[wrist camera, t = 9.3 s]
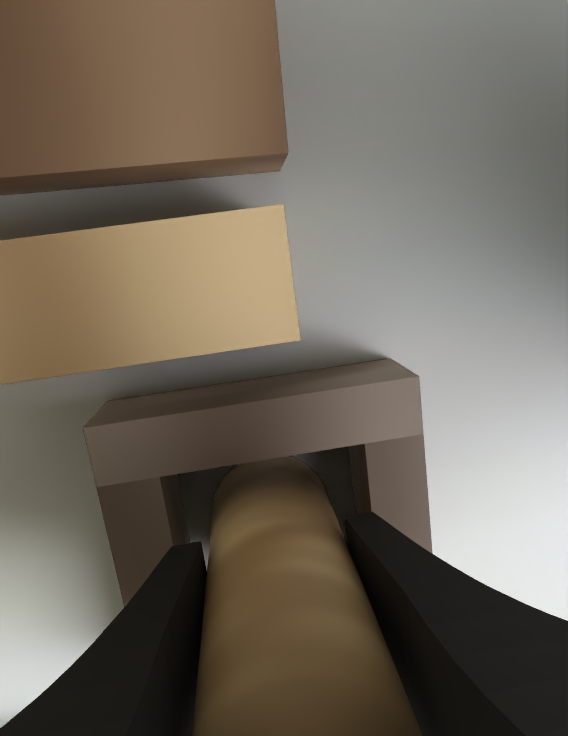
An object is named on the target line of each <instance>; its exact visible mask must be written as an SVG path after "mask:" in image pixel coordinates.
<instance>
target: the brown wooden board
mask: <svg viewBox="0 0 568 736" xmlns="http://www.w3.org/2000/svg"><path fill="white" fill-rule="evenodd" d="M287 155H288V144H287V133H286V122H285V111H284V99H283V88H282V77H281V66H280V55H279V44H278V33H277V21H276V10H275V0H0V196H3V195H14V194H25V193H37V192H48V191H59V190H71V189H82V188H93V187H105V186H116V185H128V184H139V183H150V182H162V181H173V180H184V179H196V178H207V177H218V176H230V175H241V174H252V173H264V172H275V171H280V169H281V167H282V165H283V163H284V161H285V159H286V157H287Z"/></svg>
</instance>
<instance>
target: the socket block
mask: <svg viewBox="0 0 568 736" xmlns="http://www.w3.org/2000/svg"><path fill="white" fill-rule="evenodd" d="M83 431H84V435H85V440H86V444H87V448H88V453H89V457H90V461H91V465H92V470H93V474H94V478H95V483H96V487H97V491H98V496H99V500H100V504H101V508H102V513H103V517H104V521H105V526H106V530H107V534H108V538H109V543H110V547H111V551H112V556H113V560H114V564H115V569H116V573H117V577H118V581H119V586H120V590H121V594H122V599H123V603H124V607H125V606H126V605H127V603H128V602H129V601H130V600H131V598H132V597H133V596H134V595H135V593H136V592H137V591H138V590H139V588H140V587H141V586H142V584H143V583H144V582H145V580H146V579H147V578H148V576H149V575H150V574H151V572H152V571H153V570H154V569H155V567H156V566H157V565H158V563H159V562H160V561H161V559H162V558H163V557H164V555H165V554H166V553H167V552H168V550H169V549H170V548H171V547H172V546H176V545H182V544H188V543H190V538H189V533H188V527H187V522H186V517H185V512H184V507H183V502H182V496H181V491H180V486H179V481H178V476H177V474H181V473H187V472H193V471H199V470H205V469H212V468H218V467H224V466H230V465H236V464H242V463H248V462H255V461H261V460H267V459H273V458H279V457H285V456H292V455H298V454H304V453H310V452H316V451H322V450H329V449H335V448H341V447H347V446H348V448H349V457H350V466H351V475H352V484H353V493H354V502H355V511H356V514H362V513H368V512H374V513H375V514H377V515H378V516H379V517H381V518H382V519H384V520H385V521H386V522H388V523H389V524H390V525H392V526H393V527H394V528H396V529H397V530H399V531H400V532H401V533H403V534H404V535H406V536H407V537H408V538H410V539H411V540H413V541H414V542H415V543H417V544H418V545H420V546H421V547H423V548H424V549H426V550H427V551H429V552H430V553H432V542H431V529H430V515H429V502H428V489H427V476H426V462H425V449H424V436H423V422H422V409H421V396H420V383H419V376H418V375H416V374H415V373H413V372H411V371H410V370H408V369H407V368H405V367H403V366H402V365H400V364H399V363H397V362H395V361H394V360H392V359H391V358H390V359H383V360H376V361H370V362H363V363H357V364H350V365H343V366H337V367H330V368H324V369H317V370H310V371H304V372H297V373H291V374H284V375H277V376H271V377H264V378H258V379H251V380H244V381H238V382H231V383H225V384H218V385H211V386H205V387H198V388H192V389H185V390H178V391H172V392H165V393H159V394H152V395H145V396H139V397H132V398H126V399H119V400H113V401H107V402H106V403H105V404H104V406H103V407H102V408H101V409H100V410H99V411H98V412H97V413H96V414H95V415H94V417H93V418H92V419H91V420H90V421H89V422H88V423H87V424H86V425H85V426H84V427H83Z"/></svg>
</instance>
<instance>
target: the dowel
mask: <svg viewBox="0 0 568 736" xmlns="http://www.w3.org/2000/svg"><path fill="white" fill-rule="evenodd" d="M192 736H422V733H421V730H420V728H419V725H418V722H417V720H416V717H415V715H414V712H413V710H412V707H411V705H410V702H409V700H408V697H407V695H406V692H405V690H404V687H403V685H402V682H401V680H400V677H399V675H398V672H397V669H396V667H395V664H394V662H393V659H392V657H391V654H390V652H389V649H388V647H387V644H386V642H385V639H384V637H383V634H382V632H381V629H380V627H379V624H378V621H377V619H376V616H375V614H374V611H373V609H372V606H371V604H370V601H369V599H368V596H367V594H366V591H365V589H364V586H363V584H362V581H361V579H360V576H359V573H358V571H357V568H356V566H355V563H354V561H353V558H352V556H351V553H350V551H349V548H348V546H347V543H346V541H345V538H344V536H343V533H342V531H341V528H340V526H339V523H338V520H337V518H336V515H335V513H334V510H333V508H332V505H331V503H330V500H329V498H328V495H327V493H326V490H325V488H324V485H323V483H322V481H321V480H320V478H319V477H318V475H317V474H316V473H315V472H314V471H313V470H312V469H311V468H310V467H309V466H307V465H306V464H305V463H303V462H301V461H300V460H297V459H295V458H292V457H289V456H285V457H279V458H273V459H267V460H261V461H255V462H248V463H242V464H239V465H237V466H236V467H234V468H233V469H232V470H231V471H230V472H229V473H228V474H227V475H226V476H225V477H224V479H223V480H222V482H221V483H220V485H219V487H218V489H217V491H216V494H215V497H214V502H213V512H212V523H211V534H210V545H209V556H208V567H207V578H206V589H205V600H204V612H203V623H202V634H201V645H200V656H199V667H198V678H197V689H196V700H195V712H194V723H193V734H192Z"/></svg>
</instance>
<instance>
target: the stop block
mask: <svg viewBox="0 0 568 736" xmlns="http://www.w3.org/2000/svg"><path fill="white" fill-rule="evenodd" d="M300 340H301V339H300V331H299V323H298V315H297V307H296V299H295V292H294V284H293V276H292V268H291V260H290V252H289V244H288V236H287V228H286V221H285V213H284V205H283V204H279V205H271V206H263V207H256V208H248V209H240V210H232V211H225V212H217V213H209V214H201V215H194V216H186V217H178V218H171V219H163V220H155V221H147V222H140V223H132V224H124V225H116V226H109V227H101V228H93V229H85V230H78V231H70V232H62V233H54V234H47V235H39V236H31V237H23V238H16V239H8V240H0V385H2V384H9V383H15V382H22V381H29V380H36V379H43V378H49V377H56V376H63V375H70V374H76V373H83V372H90V371H97V370H104V369H110V368H117V367H124V366H131V365H137V364H144V363H151V362H158V361H165V360H171V359H178V358H185V357H192V356H198V355H205V354H212V353H219V352H226V351H232V350H239V349H246V348H253V347H260V346H266V345H273V344H280V343H287V342H293V341H300Z"/></svg>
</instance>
